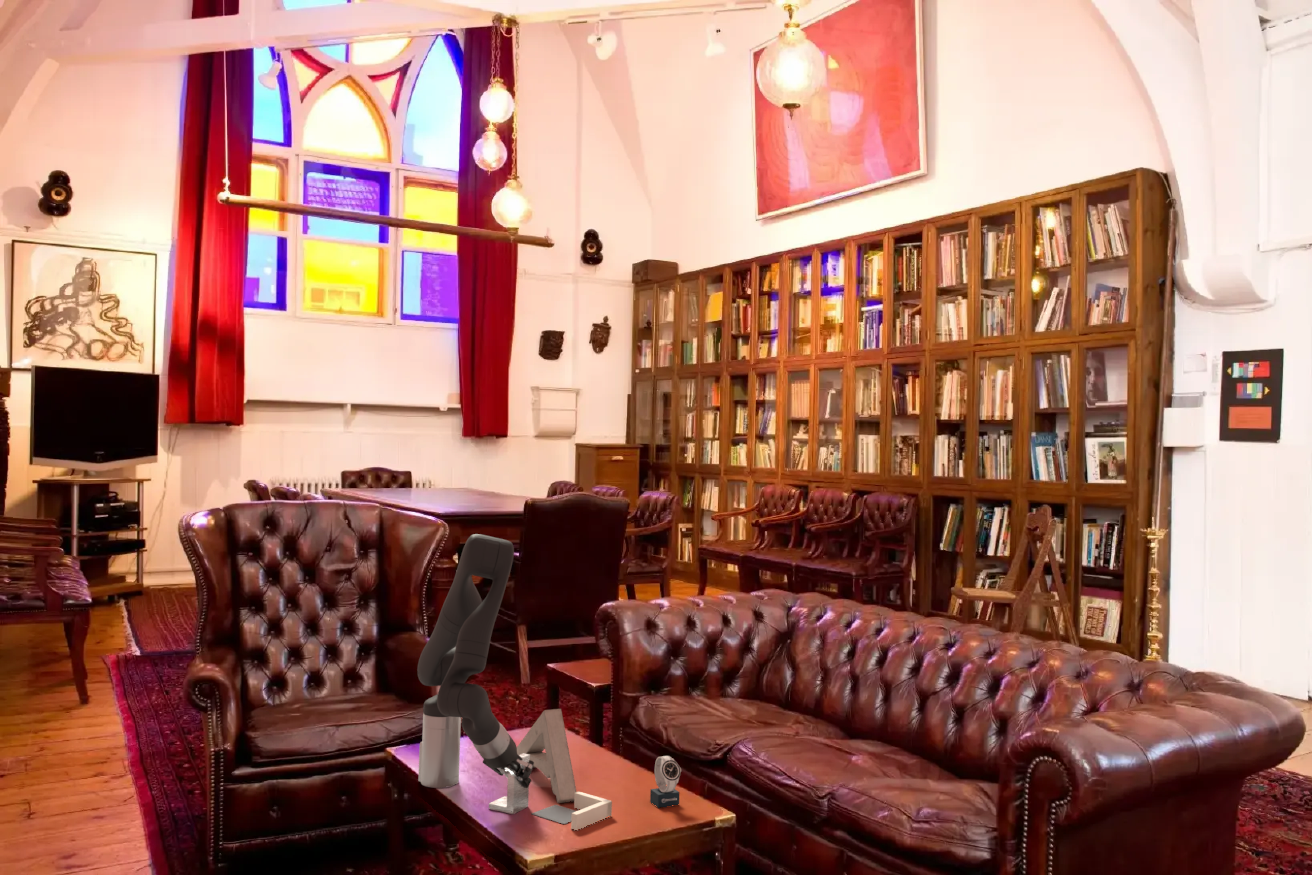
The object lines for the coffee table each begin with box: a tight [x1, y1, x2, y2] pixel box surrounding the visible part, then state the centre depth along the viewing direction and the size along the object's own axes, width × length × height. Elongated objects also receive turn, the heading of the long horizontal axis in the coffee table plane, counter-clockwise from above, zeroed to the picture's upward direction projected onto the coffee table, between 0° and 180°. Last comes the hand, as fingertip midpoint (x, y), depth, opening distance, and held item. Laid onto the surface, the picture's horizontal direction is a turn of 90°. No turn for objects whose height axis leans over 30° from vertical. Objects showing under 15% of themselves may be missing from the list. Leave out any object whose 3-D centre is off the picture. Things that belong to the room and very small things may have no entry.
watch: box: [649, 755, 682, 809], centre depth 238 cm, size 6×8×11 cm
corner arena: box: [570, 791, 613, 831], centre depth 227 cm, size 10×12×4 cm
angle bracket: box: [488, 753, 530, 815], centre depth 232 cm, size 7×6×12 cm
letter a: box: [516, 708, 578, 804], centre depth 253 cm, size 22×4×30 cm
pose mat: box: [531, 804, 577, 825], centre depth 229 cm, size 10×8×1 cm
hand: (523, 783), depth 233 cm, fingers closed on angle bracket
